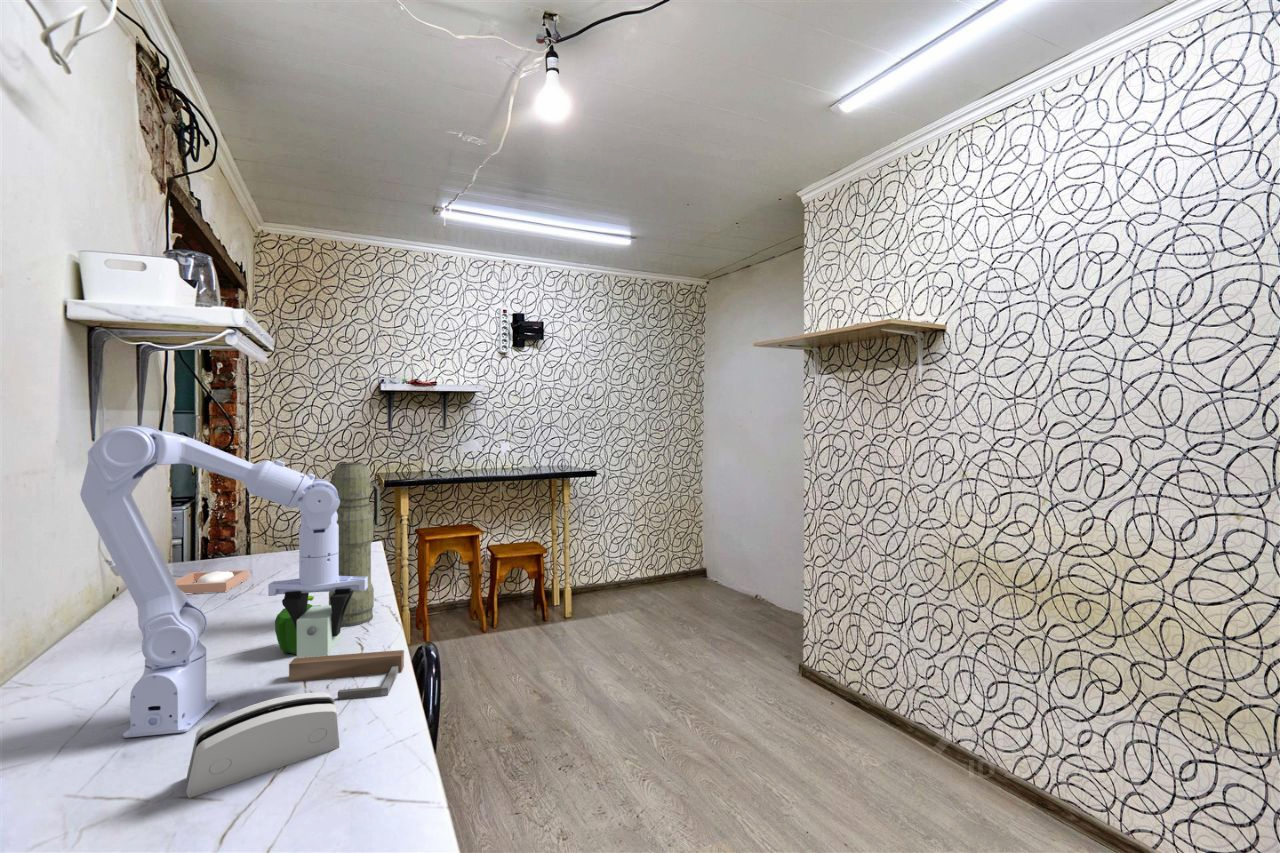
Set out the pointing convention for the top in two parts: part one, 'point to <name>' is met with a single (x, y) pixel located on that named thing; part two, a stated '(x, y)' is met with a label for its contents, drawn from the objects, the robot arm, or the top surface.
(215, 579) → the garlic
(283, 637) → the bell pepper
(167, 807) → the top surface
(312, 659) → the wall board
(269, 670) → the top surface
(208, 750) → the grey napkin holder
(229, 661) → the top surface
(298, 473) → the robot arm
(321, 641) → the cabinet block
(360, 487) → the thermos
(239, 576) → the tan flat square tray
